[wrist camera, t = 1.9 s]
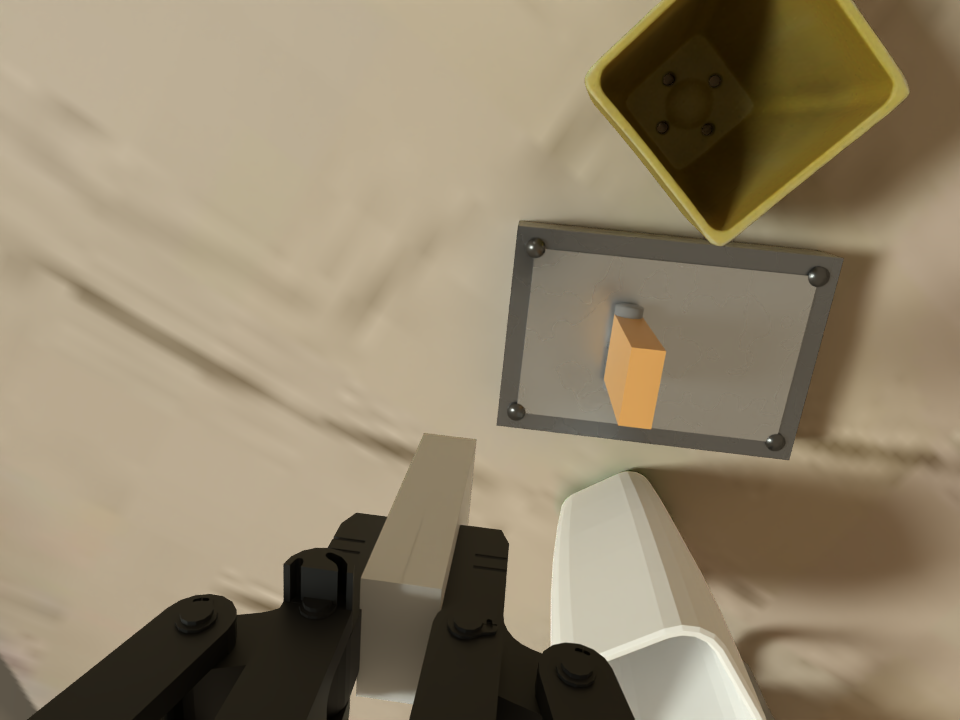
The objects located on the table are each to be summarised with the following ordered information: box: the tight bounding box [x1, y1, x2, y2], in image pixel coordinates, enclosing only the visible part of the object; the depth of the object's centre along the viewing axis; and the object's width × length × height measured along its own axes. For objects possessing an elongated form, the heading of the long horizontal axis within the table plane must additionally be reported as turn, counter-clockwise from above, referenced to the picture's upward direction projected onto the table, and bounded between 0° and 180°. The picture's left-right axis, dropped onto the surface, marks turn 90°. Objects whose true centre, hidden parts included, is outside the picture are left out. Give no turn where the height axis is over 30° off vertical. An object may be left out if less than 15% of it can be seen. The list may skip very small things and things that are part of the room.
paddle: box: [603, 303, 666, 429], centre depth 29 cm, size 4×1×7 cm, turn 175°
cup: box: [551, 471, 766, 720], centre depth 32 cm, size 7×7×15 cm
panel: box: [497, 221, 844, 460], centre depth 34 cm, size 11×16×3 cm
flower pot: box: [585, 0, 910, 246], centre depth 27 cm, size 9×9×9 cm
